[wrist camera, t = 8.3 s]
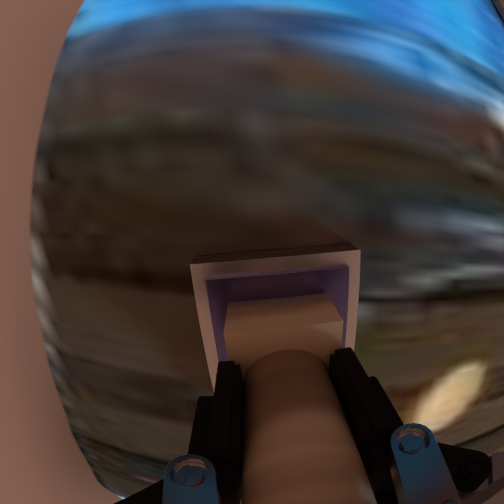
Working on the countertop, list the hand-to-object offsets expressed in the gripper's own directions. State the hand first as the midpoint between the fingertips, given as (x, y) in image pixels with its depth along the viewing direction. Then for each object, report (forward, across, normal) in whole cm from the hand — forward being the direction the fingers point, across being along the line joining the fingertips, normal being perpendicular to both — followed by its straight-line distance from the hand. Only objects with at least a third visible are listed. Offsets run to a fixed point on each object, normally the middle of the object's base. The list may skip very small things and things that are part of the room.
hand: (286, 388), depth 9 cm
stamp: (+3, 0, 0) cm, 3 cm away
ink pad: (+4, 0, 0) cm, 4 cm away
